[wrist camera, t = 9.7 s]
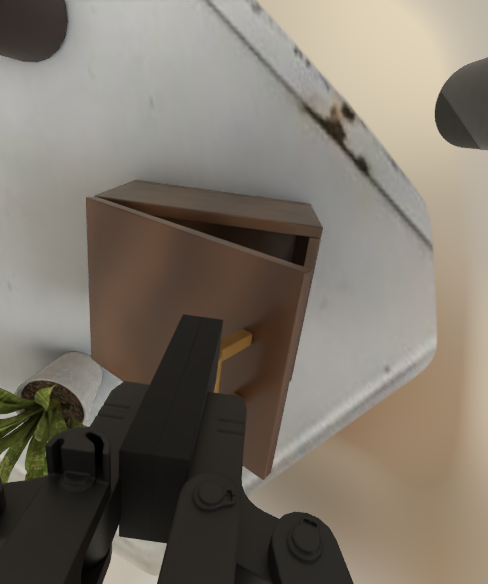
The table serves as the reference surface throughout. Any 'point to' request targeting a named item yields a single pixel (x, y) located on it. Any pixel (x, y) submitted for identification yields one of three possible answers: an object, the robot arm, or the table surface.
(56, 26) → the bottle
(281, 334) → the lid
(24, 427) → the house plant
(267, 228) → the chest
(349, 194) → the table surface
